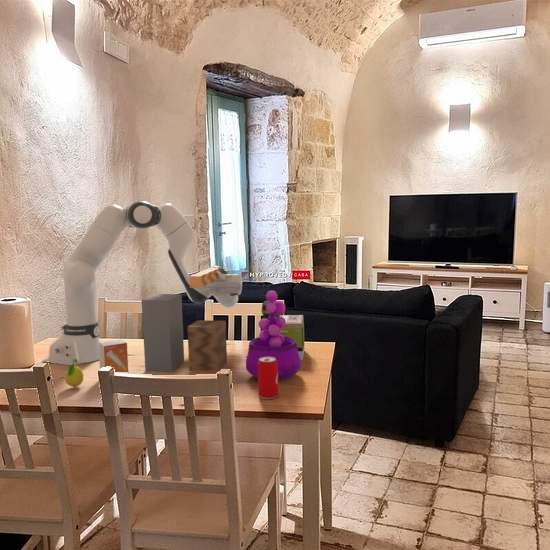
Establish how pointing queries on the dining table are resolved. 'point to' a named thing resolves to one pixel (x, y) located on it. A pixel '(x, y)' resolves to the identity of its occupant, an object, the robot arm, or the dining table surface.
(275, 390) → the beverage can
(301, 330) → the tea box
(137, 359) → the dining table surface
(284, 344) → the decorative plant
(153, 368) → the charcoal stand
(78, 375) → the lemon
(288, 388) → the dining table surface
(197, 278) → the orange bar
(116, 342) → the small box
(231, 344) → the dining table surface
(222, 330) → the walnut pedestal
